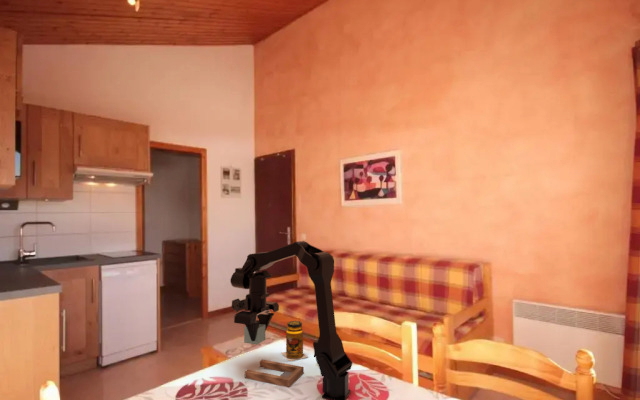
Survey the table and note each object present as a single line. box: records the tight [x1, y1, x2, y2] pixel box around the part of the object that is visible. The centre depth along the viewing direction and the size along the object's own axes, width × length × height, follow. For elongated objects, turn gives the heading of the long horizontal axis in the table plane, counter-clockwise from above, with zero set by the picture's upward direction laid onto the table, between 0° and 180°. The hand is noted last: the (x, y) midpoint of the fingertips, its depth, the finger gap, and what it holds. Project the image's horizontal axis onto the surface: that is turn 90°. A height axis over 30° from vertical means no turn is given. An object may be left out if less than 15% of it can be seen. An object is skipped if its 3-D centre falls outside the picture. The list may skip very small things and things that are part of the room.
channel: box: [244, 358, 305, 388], centre depth 111 cm, size 16×10×2 cm, turn 67°
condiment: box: [280, 320, 309, 362], centre depth 127 cm, size 7×8×12 cm
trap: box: [279, 371, 292, 377], centre depth 109 cm, size 4×6×1 cm, turn 157°
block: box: [243, 324, 266, 345], centre depth 117 cm, size 5×5×5 cm
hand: (257, 338), depth 116 cm, fingers closed on block, 5 cm apart
